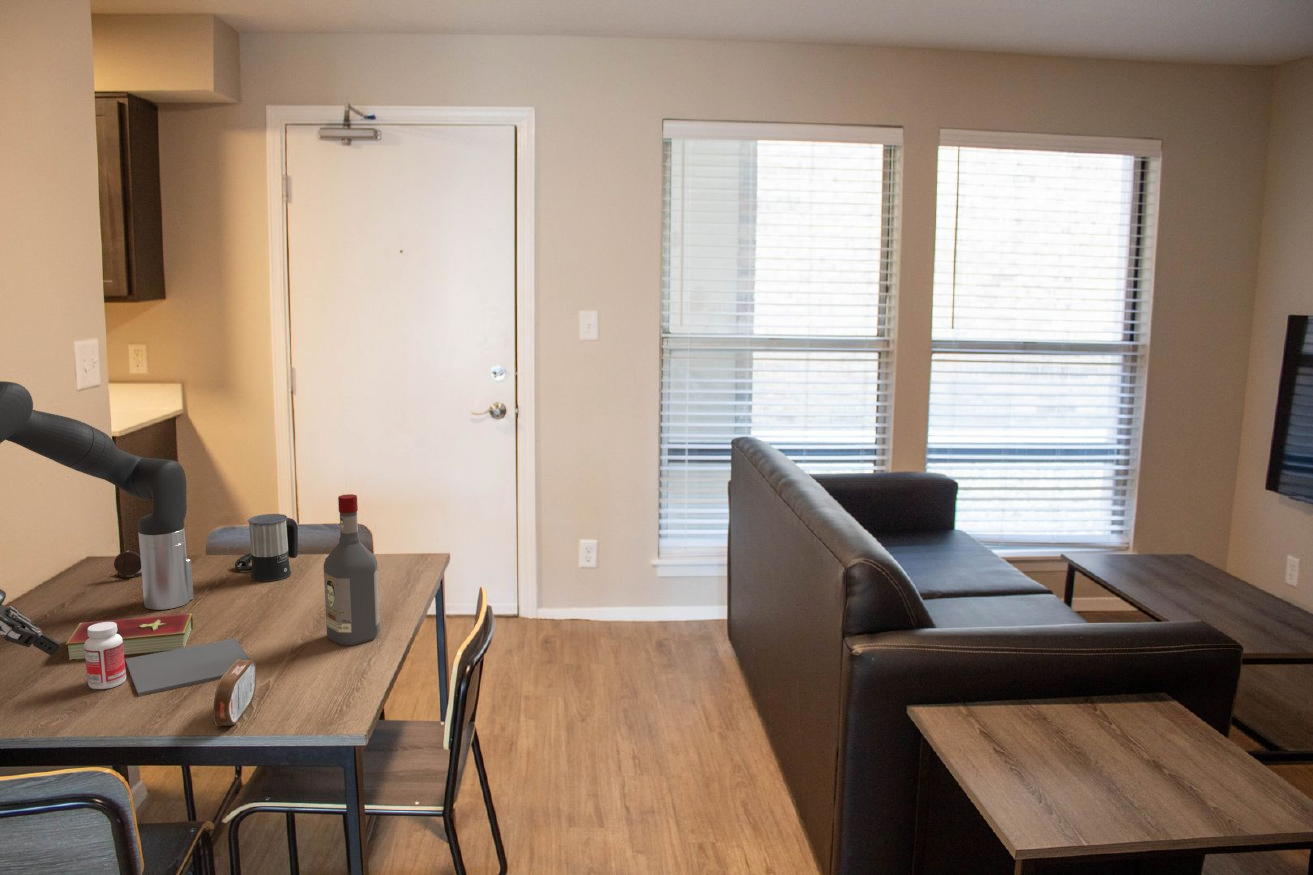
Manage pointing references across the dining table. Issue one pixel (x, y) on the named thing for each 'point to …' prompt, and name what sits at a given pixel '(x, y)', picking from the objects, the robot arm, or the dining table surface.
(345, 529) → the liquor
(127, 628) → the hardcover book
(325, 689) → the dining table surface
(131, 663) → the mat
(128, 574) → the compass
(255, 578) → the milk frother
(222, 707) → the tin
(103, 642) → the pill bottle
